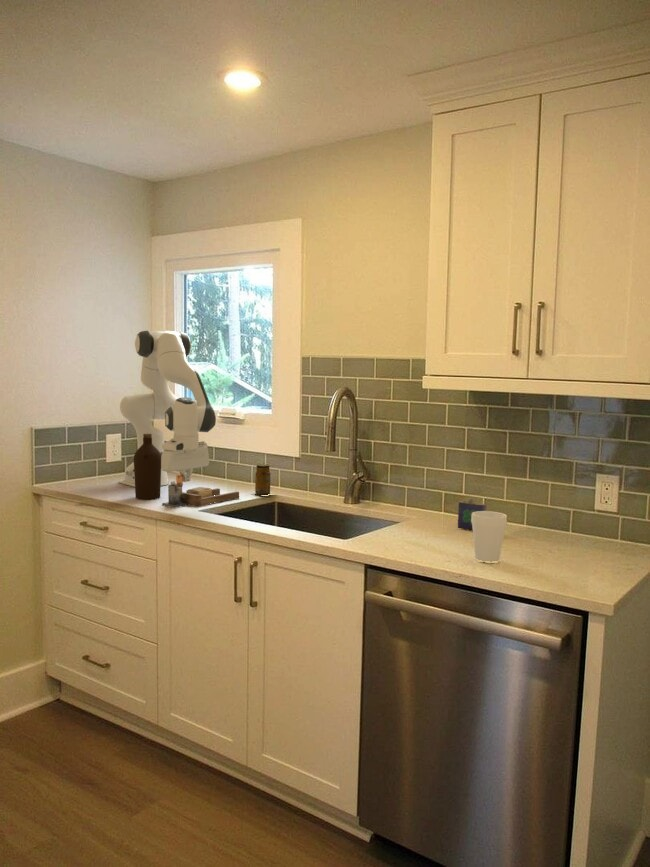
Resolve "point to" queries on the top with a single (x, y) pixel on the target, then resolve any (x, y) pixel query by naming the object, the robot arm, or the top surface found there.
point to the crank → (178, 481)
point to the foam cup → (488, 534)
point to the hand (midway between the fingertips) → (186, 481)
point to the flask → (468, 512)
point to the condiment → (262, 480)
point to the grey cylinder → (174, 497)
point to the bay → (198, 501)
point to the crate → (200, 491)
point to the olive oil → (147, 470)
